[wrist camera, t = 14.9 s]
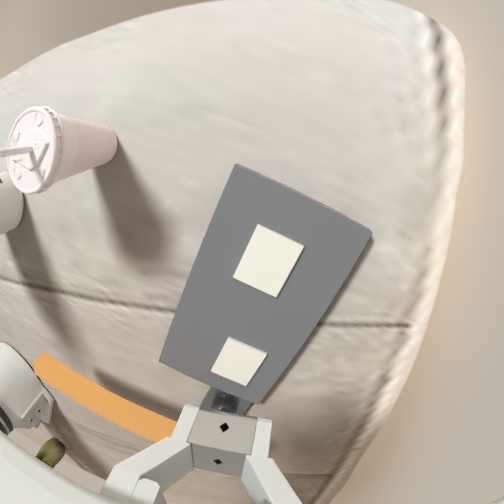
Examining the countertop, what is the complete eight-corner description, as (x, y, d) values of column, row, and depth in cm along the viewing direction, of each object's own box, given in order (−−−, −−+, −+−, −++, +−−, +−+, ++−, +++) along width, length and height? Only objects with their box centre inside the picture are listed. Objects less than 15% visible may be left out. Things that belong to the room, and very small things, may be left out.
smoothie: (131, 174, 24) (9, 204, 11) (80, 181, 25) (-33, 214, 12) (128, 106, 22) (6, 88, 9) (77, 120, 23) (-38, 123, 10)
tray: (259, 397, 31) (257, 406, 29) (162, 354, 30) (157, 362, 29) (368, 228, 23) (373, 233, 22) (237, 163, 23) (234, 164, 21)
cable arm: (238, 435, 25) (233, 459, 22) (228, 451, 27) (223, 473, 24) (43, 344, 26) (28, 359, 23) (48, 367, 27) (34, 381, 24)
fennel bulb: (49, 432, 48) (27, 462, 36) (63, 441, 47) (41, 472, 36) (56, 444, 50) (36, 473, 38) (70, 452, 49) (50, 482, 38)
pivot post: (237, 419, 32) (229, 452, 27) (200, 404, 32) (188, 437, 27) (253, 398, 31) (246, 434, 26) (213, 382, 31) (201, 417, 25)
